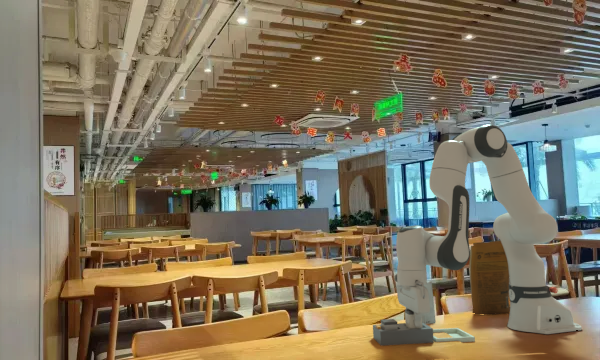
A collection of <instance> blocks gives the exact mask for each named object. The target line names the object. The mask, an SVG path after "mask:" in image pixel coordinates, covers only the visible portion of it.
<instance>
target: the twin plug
mask: <svg viewBox="0 0 600 360" xmlns="http://www.w3.org/2000/svg"><path fill="white" fill-rule="evenodd" d="M380 324H381V329H383V330H390V329H398V325H397V324H398V321H397V320H396V319H394V318H389V319H386V318H385V319H380Z"/></svg>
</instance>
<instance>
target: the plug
mask: <svg viewBox="0 0 600 360" xmlns="http://www.w3.org/2000/svg"><path fill="white" fill-rule="evenodd" d="M404 318H405V319H404V320H405V322H404V323H406V327H408V328H423V325H422V318H421V326H420V327H416V326H414V322H413V320H414V312H413V311H411V310H410V309H408V310H406V309H405V310H404Z"/></svg>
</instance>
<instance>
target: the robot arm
mask: <svg viewBox="0 0 600 360" xmlns="http://www.w3.org/2000/svg"><path fill="white" fill-rule="evenodd" d="M477 162H482V163H483V164H484V166H485V167H486V171H487V176H488V178H489V182H490V184H491V188H492V190H493V193H494V197H495V200H497V202H498V203H500V204H501V205H502V206H503V207H504V209H505V210H506V211H507V212H505V213H503V214H501V215H498V216H497V217H496V218H495V219H494V222H493V226H492V227H493V228H492V229H493V233H494V235H495V236H496V237H497V238H498V240H499V241H501V243H502V245H503V248H504V251H505V254H506V257H507V261H508V269H509V305H510V313H508V314H509V315H508V316H509V317H508V321H507V325H506V327H508V328H509V329H511V330H515V331H519V332H525V333H526V332H527V333H535V334H540V335H552V334H559V333H567V332H568V333H569V332H577V331H576V330H578V331H582V330H583V327H582V325H580V324H579V323H577V322H574V317H573V314H572V311H571V309H569V308H568V307H567V306H565V305H564V304H563V303H561V302H560V301H559V300H557V299H556V298H554V297H553V296H552V294H555V295H556V294H558V292H559V289H558V288H557V287H556V286H549V285H547V284H546V283H547V282H546V269H545V262H544V260H543V259H542V258H541V257H540V256H539V254H538V252H537V250H536V249H535V245H543V244H546V243H549V242H551V241H553V240H554V239H555V238H556V236H557V234H558V230H559V229H558V223H557V221H556V219H555V218H554V217H553V216H552V215H551V214H550V213H548V212H547V211H546V210H545V209H544V208H543V207H542V205H540V203H539V201H538V200H537V199H536V197H535V196H534V194H533V193H532V191H531V188H530V185H529V183H528V180H527V177H526V173H525V171H524V168H523V164H522V163H521V160H520V157H519V156H518V154H517V152H516V150H515V148H514V147H513V145H512V144H511V143H510V142H508V140H507V138H506V134H505V133H504V131H503V130H502V129H501V128H500V127H499V126H497V125H495V124H483V125H481V126H478V127H475V128H471V129H468V130H466V131H464V132H462V133H461V134H457V135H456V136H454V137H453V138H452V139H451V140H444V141H443V142H441V143H440V145H438V148H437V149H436V152H435V156H434V158H433V161H432V166H431V169H430V174H429V175H430V176H429V189H430V190H431V192H432V194H433V195H434V196H435V197H437V198H438V199H440V200H442V201H444V202H445V203H446V204H447V206H448V227H447V233H446V234H445V235H444V236H443V235H442V236H441V235H435V234H432V233H430V232H429V231H427V230H425V229H424V228H423V227H422V226H421V225H408V226H404V227H400V229H399V230H398V231H397V233H396V234H397V235H396V248H395V249H396V250H395V251H396V258H397V262H398V263H397V268H396V273H395V274H394V281H395V282H396V293H397V294H396V295H397V301H398V303H399V304H400V305H402V306H403V307H404V308H405V310H408V309H410V310H411V311H413V312H414V320H413V322H414V326H416V327H420V326H421V318H422V315H428V314H429V313H430V301H429V293H428V290H427V288H425V287H424V285H427V281H428V278H427V277H428V276H427V275H428V272H427V266H431V267H436V268H443V269H447V270H451V271H459V270H461V269H463V268H464V267H465V266H466V265H467V263H468V261H470V248H471V246H470V242H469V241H470V240H469V228H470V227H469V226H470V204H471V203H470V194H469V191H468V189H467V188H466V176H467V170H468V164H473V163H477ZM581 329H582V330H581Z"/></svg>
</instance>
